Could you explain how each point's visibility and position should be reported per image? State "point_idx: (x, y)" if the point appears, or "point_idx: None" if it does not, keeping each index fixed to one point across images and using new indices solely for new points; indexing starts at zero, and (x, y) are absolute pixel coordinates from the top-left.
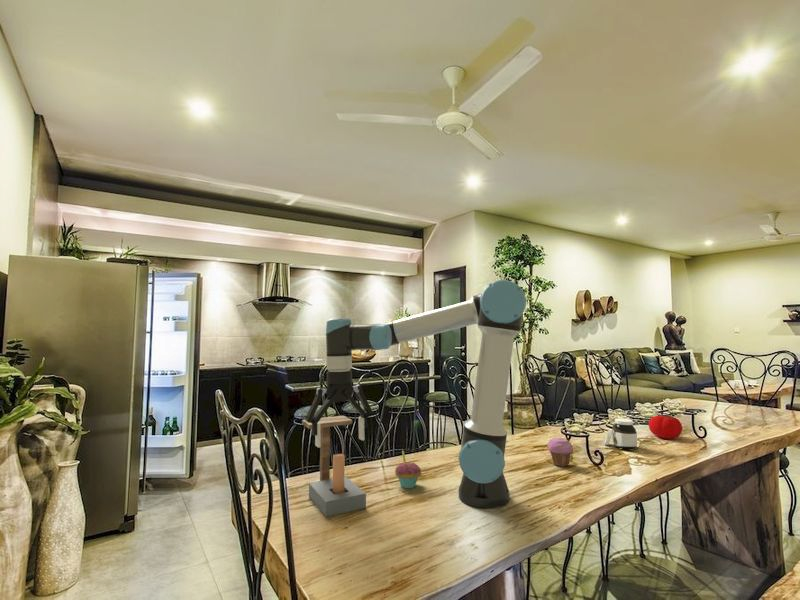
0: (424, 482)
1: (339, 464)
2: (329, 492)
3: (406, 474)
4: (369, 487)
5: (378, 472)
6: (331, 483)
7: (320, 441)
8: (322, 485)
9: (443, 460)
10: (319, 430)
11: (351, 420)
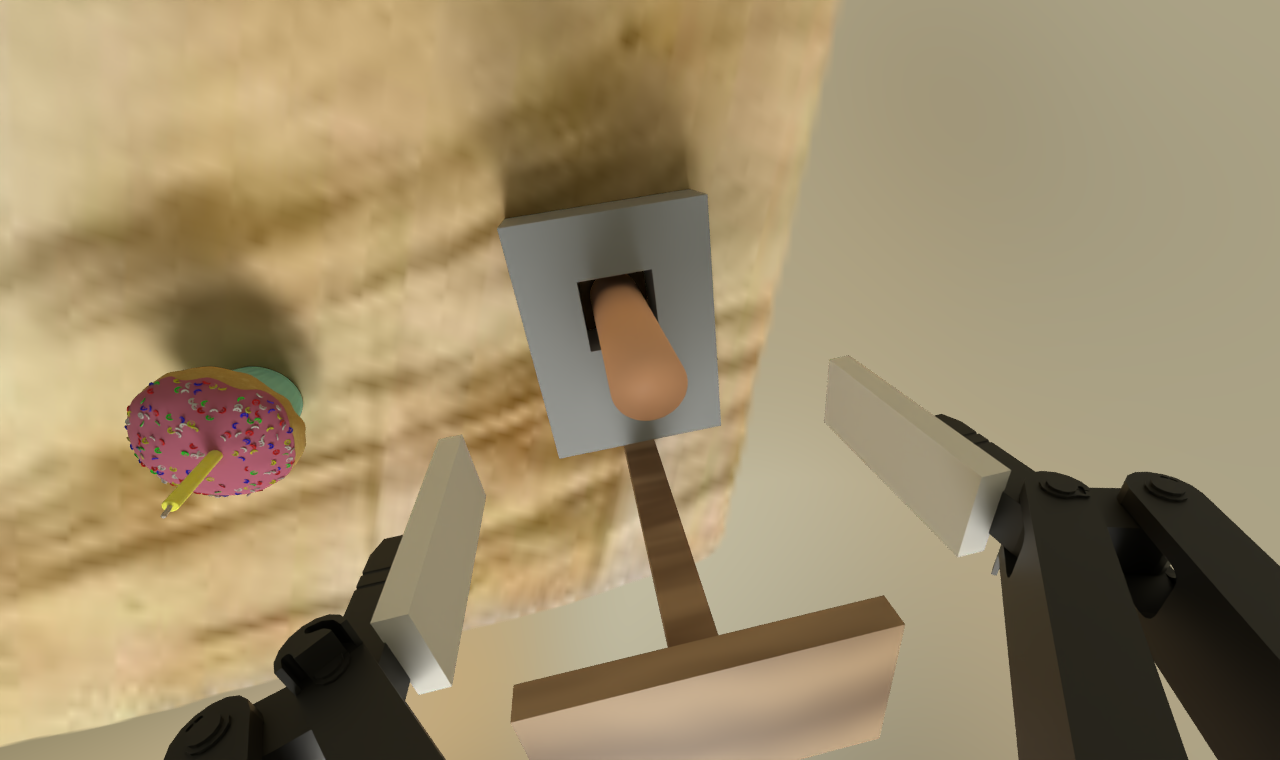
0: None
1: (645, 332)
2: (665, 300)
3: (229, 383)
4: (457, 421)
5: None
6: None
7: (855, 380)
8: None
9: (46, 625)
10: (934, 432)
11: (519, 716)
